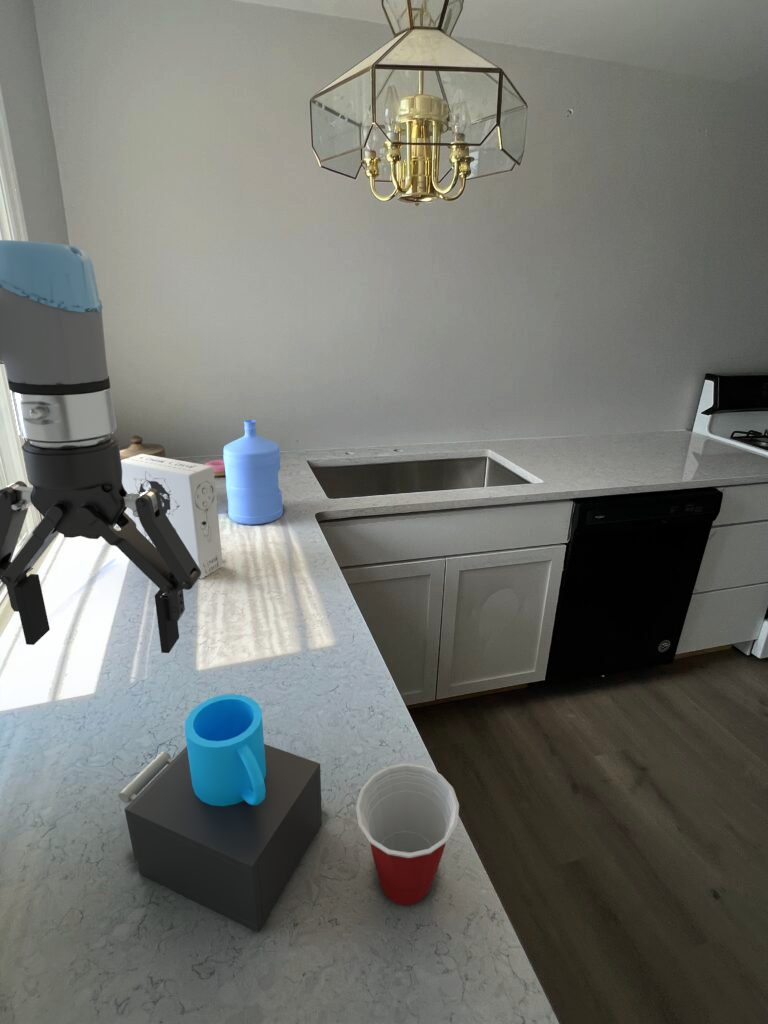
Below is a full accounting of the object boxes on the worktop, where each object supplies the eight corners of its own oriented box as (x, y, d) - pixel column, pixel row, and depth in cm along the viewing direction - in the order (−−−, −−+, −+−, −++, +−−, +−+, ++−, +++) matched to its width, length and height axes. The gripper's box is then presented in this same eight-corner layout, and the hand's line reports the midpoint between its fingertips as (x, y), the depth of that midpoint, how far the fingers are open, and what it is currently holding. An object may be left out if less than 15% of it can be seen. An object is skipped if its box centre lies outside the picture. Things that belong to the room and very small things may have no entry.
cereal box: (223, 566, 133) (214, 465, 124) (201, 579, 126) (189, 475, 117) (155, 548, 141) (142, 453, 132) (131, 560, 135) (115, 461, 126)
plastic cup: (335, 879, 63) (334, 801, 58) (402, 821, 70) (405, 747, 65) (405, 957, 55) (410, 874, 51) (471, 883, 63) (480, 804, 58)
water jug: (257, 530, 153) (250, 430, 143) (217, 518, 161) (208, 422, 151) (294, 513, 166) (290, 420, 156) (255, 502, 173) (249, 413, 163)
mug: (180, 771, 64) (172, 715, 61) (245, 738, 69) (240, 684, 66) (227, 846, 56) (220, 784, 53) (297, 802, 61) (294, 743, 58)
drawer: (105, 846, 65) (94, 795, 62) (181, 767, 76) (174, 721, 73) (241, 911, 58) (235, 858, 55) (302, 815, 69) (300, 766, 66)
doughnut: (214, 480, 192) (213, 468, 191) (197, 473, 199) (196, 461, 198) (241, 473, 200) (240, 462, 198) (224, 467, 207) (223, 456, 205)
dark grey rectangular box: (139, 874, 63) (126, 810, 59) (217, 782, 75) (210, 724, 71) (258, 932, 57) (252, 866, 54) (322, 823, 69) (320, 763, 66)
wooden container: (112, 506, 167) (100, 435, 159) (161, 496, 177) (152, 428, 169) (130, 521, 157) (118, 445, 149) (180, 509, 167) (172, 437, 159)
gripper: (-107, 440, 45) (-45, 655, 53) (196, 456, 45) (214, 671, 53) (-39, 420, 52) (7, 613, 60) (224, 434, 52) (236, 627, 60)
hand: (104, 641), depth 57 cm, fingers open, 13 cm apart
